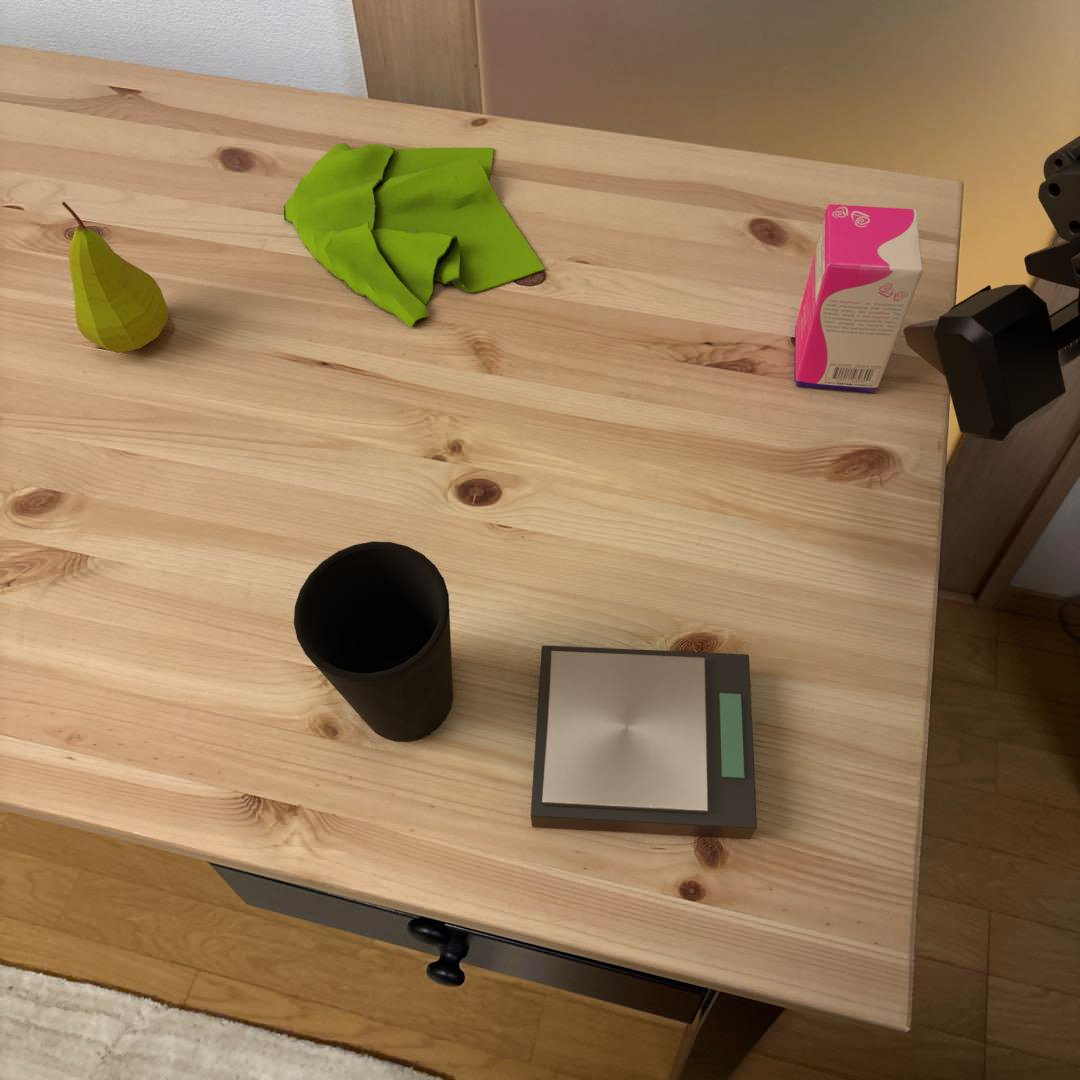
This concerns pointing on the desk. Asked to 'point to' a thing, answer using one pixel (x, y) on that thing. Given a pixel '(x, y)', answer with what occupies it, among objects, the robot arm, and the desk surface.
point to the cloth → (408, 224)
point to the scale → (644, 742)
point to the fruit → (112, 295)
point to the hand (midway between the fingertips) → (968, 299)
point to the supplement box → (856, 296)
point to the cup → (381, 636)
